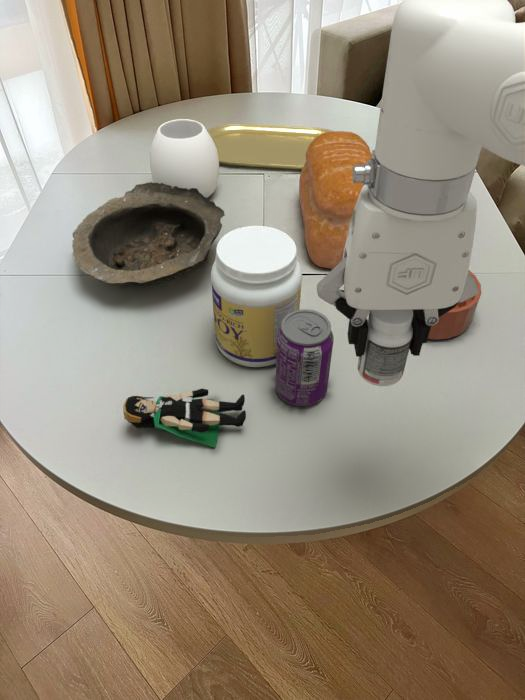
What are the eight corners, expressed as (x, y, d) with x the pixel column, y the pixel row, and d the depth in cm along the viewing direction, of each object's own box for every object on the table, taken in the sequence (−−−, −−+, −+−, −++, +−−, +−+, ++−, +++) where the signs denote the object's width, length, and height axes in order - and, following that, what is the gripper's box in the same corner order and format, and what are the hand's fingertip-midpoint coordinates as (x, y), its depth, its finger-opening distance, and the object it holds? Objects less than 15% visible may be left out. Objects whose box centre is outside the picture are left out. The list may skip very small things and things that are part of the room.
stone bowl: (242, 232, 103) (240, 189, 96) (195, 330, 88) (189, 288, 81) (118, 210, 107) (107, 167, 100) (53, 300, 92) (35, 257, 85)
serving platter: (205, 128, 134) (204, 121, 133) (353, 136, 131) (353, 129, 130) (189, 166, 121) (188, 159, 120) (353, 176, 118) (353, 169, 117)
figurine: (247, 430, 68) (120, 424, 65) (239, 456, 72) (119, 452, 69) (243, 382, 74) (126, 374, 71) (236, 409, 78) (125, 402, 75)
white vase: (144, 207, 109) (133, 140, 100) (168, 174, 118) (160, 110, 109) (209, 216, 107) (204, 149, 98) (228, 182, 116) (225, 117, 107)
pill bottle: (411, 379, 58) (428, 319, 52) (371, 393, 57) (384, 333, 51) (387, 349, 61) (400, 289, 55) (348, 361, 60) (358, 301, 54)
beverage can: (335, 383, 78) (345, 319, 70) (311, 417, 74) (318, 354, 65) (291, 362, 81) (295, 299, 72) (265, 395, 77) (266, 332, 68)
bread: (306, 273, 95) (312, 192, 84) (295, 192, 114) (299, 117, 103) (385, 271, 96) (401, 191, 85) (362, 191, 114) (372, 117, 103)
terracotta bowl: (480, 302, 90) (491, 272, 86) (456, 353, 82) (467, 324, 78) (401, 276, 95) (408, 247, 90) (372, 322, 87) (377, 293, 83)
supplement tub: (198, 341, 84) (188, 248, 72) (256, 302, 90) (255, 210, 78) (257, 385, 78) (257, 291, 66) (314, 340, 84) (323, 247, 72)
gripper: (313, 206, 41) (302, 375, 54) (548, 203, 41) (480, 372, 54) (306, 157, 46) (297, 322, 59) (514, 154, 46) (459, 319, 59)
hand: (385, 344), depth 56 cm, fingers closed on pill bottle, 4 cm apart
